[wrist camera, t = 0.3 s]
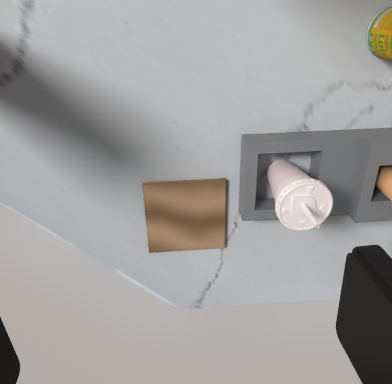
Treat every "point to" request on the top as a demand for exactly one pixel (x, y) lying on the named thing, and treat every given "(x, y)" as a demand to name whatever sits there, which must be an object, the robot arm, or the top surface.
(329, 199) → the smoothie
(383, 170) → the tan mushroom
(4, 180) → the top surface
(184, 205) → the mat
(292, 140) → the grey holder
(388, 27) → the supplement bottle
